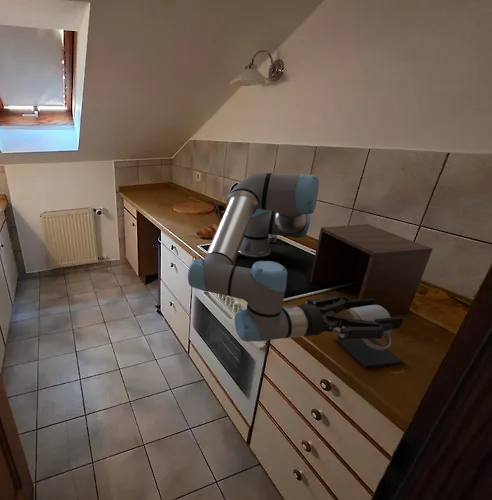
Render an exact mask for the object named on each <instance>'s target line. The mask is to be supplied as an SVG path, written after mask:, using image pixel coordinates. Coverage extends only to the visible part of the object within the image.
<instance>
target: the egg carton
mask: <svg viewBox="0 0 492 500" xmlns="http://www.w3.org/2000/svg"><path fill="white" fill-rule="evenodd" d="M278 237H279V235H272V234H269V235H268V241H269V243H277V240H278Z"/></svg>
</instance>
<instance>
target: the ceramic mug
mask: <svg viewBox="0 0 492 500" xmlns="http://www.w3.org/2000/svg"><path fill="white" fill-rule="evenodd" d="M341 316H345V317H346V318H349V319H357V320H365V321H374V322H375V319H383V318H392V317H391V314H389V313H388V312H387V311H386V310H385V309H384V308H383V307H382V306H379V305H369V306H362V307H356V308H350V309H348V310H347V309H344V310H343V312H342V314H341ZM392 331H393V329H391V330H388V331H384V332H383V335H382V337H384V340H385V343H386V345H385V346H384V347H381V346H377V345H374V344H373V343H371V342H370V341H369V340H368V339H362V340H363V341H364V342H365V343H366V344H367V345H368V346H369V347H371V348H373V349H375V350H385V349H387V350H388V348H389V347H391V344H392V340H391V336H390V334H391V333H392Z"/></svg>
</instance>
